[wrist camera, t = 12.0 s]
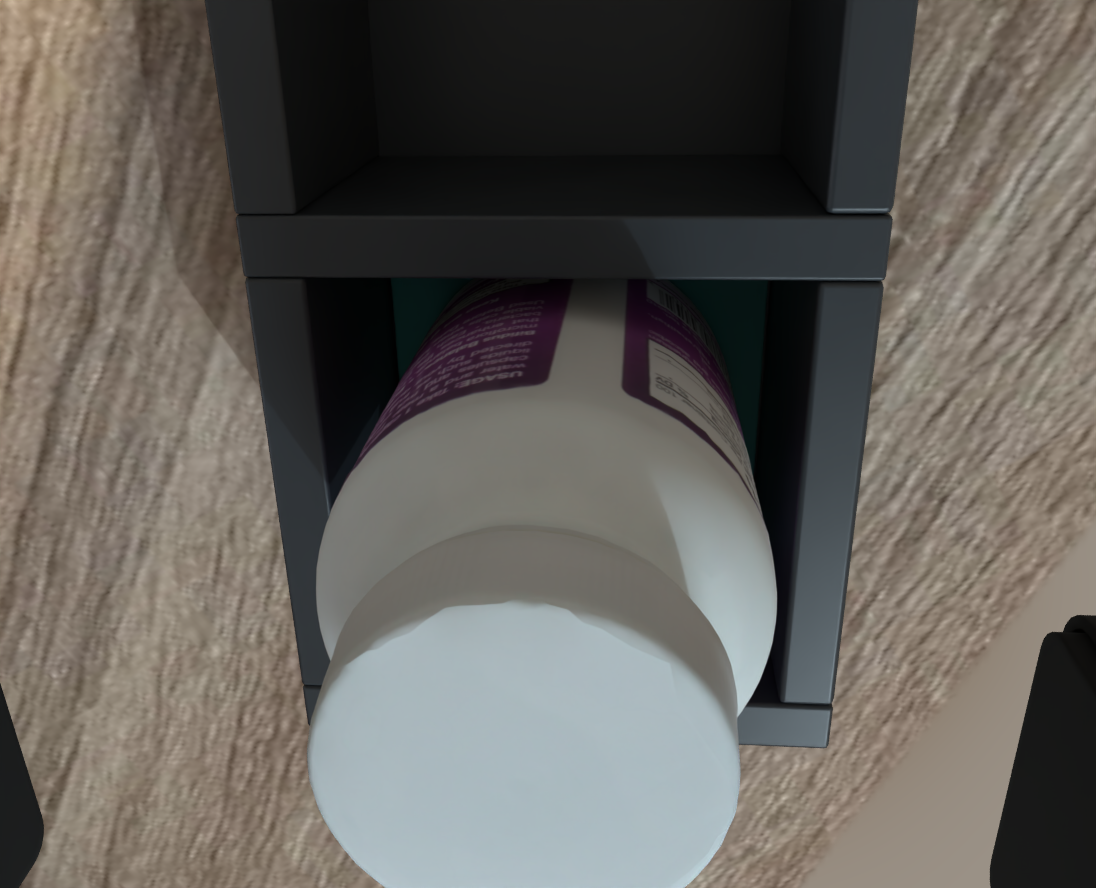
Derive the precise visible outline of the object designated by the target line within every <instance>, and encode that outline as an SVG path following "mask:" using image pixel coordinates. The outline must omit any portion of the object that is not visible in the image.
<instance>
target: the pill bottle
mask: <svg viewBox="0 0 1096 888" xmlns="http://www.w3.org/2000/svg"><path fill="white" fill-rule="evenodd" d="M316 600H317V613H318V619H319V624H320V630H321V634H322V637H323V641H324V644H325V648H326V650H327V653H328V656H329V658H330V661H331V662H330V664H329V667H328V670H327V672H326V675H325V678H324V681H323V684H322V687H321V690H320V693H319V696H318V699H317V702H316V705H315V709H314V712H313V715H312V718H311V723H310V730H309V737H308V746H307V763H308V773H309V780H310V784H311V786H312V789H313V793H314V796H315V799H316V802H317V805H318V808H319V810H320V812H321V814H322V816H323V818H324V820H325V822H326V824H327V825H328V827H329V829H330V831H331V832H332V834H333V835H334V836H335V838H336V839H337V841H338V842H339V843H340V845H341V846H342V847H343V848H344V850H345V851H346V852H347V853H348V855H349V856H350V857H351V858H352V859H353V860H354V862H355V863H356V864H357V865H358V866H360V867H361V868H362V869H363V870H364V871H365V872H366V873H367V874H369V875H370V876H371V877H372V878H374V879H375V880H376V881H377V882H379V883H380V884H381V885H383V886H384V887H385V888H684V887H685V886H687V885H688V884H689V883H690V882H691V881H692V880H693V879H694V878H695V877H696V876H697V875H698V874H699V873H700V872H701V871H702V869H703V868H704V867H705V866H706V865H707V864H708V863H709V862H710V860H711V859H712V857H713V856H714V854H715V853H716V851H717V850H718V849H719V848H720V846H721V844H722V842H723V840H724V837H725V835H726V833H727V831H728V828H729V826H730V824H731V822H732V820H733V817H734V815H735V813H736V807H737V801H738V794H739V785H740V756H739V741H738V729H737V717H738V716H739V715H740V713H741V712H742V710H743V709H744V707H745V706H746V704H747V703H748V701H749V700H750V698H751V696H752V695H753V693H754V691H755V689H756V687H757V685H758V683H759V681H760V679H761V676H762V674H763V671H764V668H765V666H766V663H767V660H768V656H769V653H770V649H771V646H772V642H773V636H774V630H775V624H776V615H777V589H776V578H775V569H774V562H773V555H772V548H771V545H770V540H769V534H768V531H767V528H766V525H765V522H764V519H763V515H762V511H761V507H760V503H759V499H758V495H757V491H756V487H755V483H754V479H753V475H752V470H751V465H750V460H749V456H748V452H747V448H746V446H745V441H744V437H743V433H742V428H741V424H740V420H739V416H738V412H737V409H736V403H735V399H734V394H733V391H732V386H731V383H730V378H729V374H728V370H727V367H726V363H725V360H724V357H723V354H722V352H721V349H720V347H719V345H718V342H717V340H716V338H715V336H714V334H713V332H712V330H711V328H710V327H709V325H708V323H707V321H706V320H705V318H704V317H703V316H702V314H701V313H700V311H699V310H698V309H697V308H696V306H695V305H694V304H693V302H692V301H691V300H690V299H689V298H688V297H687V296H686V295H684V294H683V293H682V292H681V291H680V290H679V289H678V288H677V287H676V286H675V285H674V284H672V283H671V282H670V281H669V280H651V279H483V278H474V279H472V280H471V281H470V282H469V283H467V284H466V285H465V286H464V287H463V288H462V289H461V290H460V291H459V292H458V293H457V294H456V295H455V296H454V297H453V298H452V299H451V300H450V302H449V303H448V304H447V306H446V307H445V308H444V309H443V311H442V312H441V314H440V315H439V317H438V318H437V319H436V321H435V322H434V324H433V325H432V327H431V328H430V330H429V332H428V333H427V335H426V336H425V338H424V340H423V342H422V344H421V346H420V347H419V349H418V351H417V353H416V355H415V356H414V358H413V360H412V361H411V363H410V365H409V367H408V368H407V370H406V371H405V373H404V374H403V376H402V378H401V380H400V382H399V384H398V386H397V387H396V389H395V391H394V393H393V395H392V397H391V399H390V401H389V402H388V404H387V406H386V407H385V409H384V411H383V413H382V415H381V416H380V418H379V420H378V422H377V424H376V426H375V427H374V429H373V431H372V432H371V434H370V436H369V438H368V440H367V442H366V444H365V446H364V448H363V449H362V451H361V453H360V456H359V458H358V460H357V461H356V463H355V465H354V467H353V469H352V470H351V471H350V472H349V473H348V475H347V477H346V479H345V481H344V483H343V485H342V487H341V489H340V491H339V493H338V496H337V498H336V500H335V502H334V504H333V507H332V509H331V513H330V516H329V518H328V521H327V523H326V526H325V530H324V534H323V538H322V542H321V546H320V550H319V556H318V563H317V574H316Z"/></svg>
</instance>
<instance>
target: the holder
mask: <svg viewBox="0 0 1096 888" xmlns="http://www.w3.org/2000/svg"><path fill="white" fill-rule="evenodd" d="M205 6H206V13H207V20H208V27H209V34H210V41H211V48H212V55H213V62H214V69H215V76H216V83H217V90H218V97H219V104H220V111H221V118H222V125H223V132H224V139H225V146H226V153H227V160H228V167H229V174H230V181H231V188H232V195H233V202H234V209H235V212H236V213H237V214H239V215H237V217H236V223H237V230H238V237H239V244H240V251H241V258H242V265H243V272H244V275H245V276H247V278H246V281H245V283H246V290H247V297H248V304H249V311H250V319H251V326H252V333H253V340H254V347H255V354H256V361H257V368H258V375H259V382H260V389H261V396H262V403H263V410H264V417H265V424H266V431H267V438H268V445H269V452H270V459H271V466H272V473H273V480H274V487H275V494H276V501H277V508H278V515H279V522H280V529H281V536H282V543H283V550H284V557H285V564H286V571H287V578H288V585H289V592H290V599H291V606H292V613H293V620H294V627H295V634H296V641H297V648H298V655H299V663H300V670H301V677H302V682H303V684H304V686H303V691H304V698H305V705H306V712H307V719H308V724H309V726H310V723H311V718H312V715H313V712H314V709H315V705H316V702H317V699H318V696H319V693H320V690H321V687H322V684H323V681H324V678H325V675H326V672H327V670H328V667H329V664H330V662H331V661H330V658H329V656H328V653H327V650H326V648H325V644H324V641H323V637H322V634H321V630H320V624H319V619H318V613H317V600H316V574H317V563H318V556H319V550H320V546H321V542H322V538H323V534H324V530H325V526H326V523H327V521H328V518H329V516H330V513H331V509H332V507H333V504H334V502H335V500H336V498H337V496H338V493H339V491H340V489H341V487H342V485H343V483H344V481H345V479H346V477H347V475H348V473H349V472H350V471H351V470H352V469H353V467H354V465H355V463H356V461H357V460H358V458H359V456H360V453H361V451H362V449H363V448H364V446H365V444H366V442H367V440H368V438H369V436H370V434H371V432H372V431H373V429H374V427H375V426H376V424H377V422H378V420H379V418H380V416H381V415H382V413H383V411H384V409H385V407H386V406H387V404H388V402H389V401H390V399H391V397H392V395H393V393H394V391H395V389H396V387H397V386H398V384H399V382H400V380H401V378H402V376H403V374H404V373H405V371H406V370H407V368H408V367H409V365H410V363H411V361H412V360H413V358H414V356H415V355H416V353H417V351H418V349H419V347H420V346H421V344H422V342H423V340H424V338H425V336H426V335H427V333H428V332H429V330H430V328H431V327H432V325H433V324H434V322H435V321H436V319H437V318H438V317H439V315H440V314H441V312H442V311H443V309H444V308H445V307H446V306H447V304H448V303H449V302H450V300H451V299H452V298H453V297H454V296H455V295H456V294H457V293H458V292H459V291H460V290H461V289H462V288H463V287H464V286H465V285H466V284H467V283H469V282H470V281H471V280H472V279H474V278H483V279H651V280H669V281H670V282H671V283H672V284H674V285H675V286H676V287H677V288H678V289H679V290H680V291H681V292H682V293H683V294H684V295H686V296H687V297H688V298H689V299H690V300H691V301H692V302H693V304H694V305H695V306H696V308H697V309H698V310H699V311H700V313H701V314H702V316H703V317H704V318H705V320H706V321H707V323H708V325H709V327H710V328H711V330H712V332H713V334H714V336H715V338H716V340H717V342H718V345H719V347H720V349H721V352H722V354H723V357H724V360H725V363H726V367H727V370H728V374H729V378H730V383H731V386H732V391H733V394H734V399H735V403H736V409H737V412H738V416H739V420H740V424H741V428H742V433H743V437H744V441H745V446H746V448H747V452H748V456H749V460H750V465H751V470H752V475H753V479H754V483H755V487H756V491H757V495H758V499H759V503H760V507H761V511H762V515H763V519H764V522H765V525H766V528H767V531H768V534H769V540H770V545H771V548H772V555H773V562H774V569H775V578H776V589H777V615H776V624H775V630H774V636H773V642H772V646H771V649H770V653H769V656H768V660H767V663H766V666H765V668H764V671H763V674H762V676H761V679H760V681H759V683H758V685H757V687H756V689H755V691H754V693H753V695H752V696H751V698H750V700H749V701H748V703H747V704H746V706H745V707H744V709H743V710H742V712H741V713H740V715H739V716H738V717H737V729H738V741H739V745H761V746H784V747H808V748H826V747H827V746H828V743H829V735H830V727H831V719H832V711H833V707H832V701H833V699H834V691H835V683H836V675H837V667H838V658H839V650H840V642H841V634H842V626H843V617H844V609H845V601H846V593H847V584H848V576H849V568H850V560H851V552H852V543H853V535H854V527H855V519H856V511H857V502H858V494H859V486H860V478H861V469H862V461H863V453H864V445H865V437H866V428H867V420H868V412H869V404H870V395H871V387H872V379H873V371H874V363H875V354H876V346H877V338H878V330H879V321H880V313H881V305H882V297H883V289H884V287H883V284H882V282H881V280H884V279H885V277H886V270H887V261H888V253H889V245H890V237H891V229H892V220H893V219H892V216H891V215H890V214H889V213H888V212H890V211H891V209H892V207H893V205H894V197H895V188H896V180H897V172H898V164H899V156H900V147H901V139H902V131H903V123H904V114H905V106H906V98H907V90H908V82H909V73H910V65H911V57H912V49H913V40H914V32H915V24H916V16H917V8H918V0H205Z"/></svg>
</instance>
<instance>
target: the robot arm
mask: <svg viewBox="0 0 1096 888" xmlns="http://www.w3.org/2000/svg"><path fill="white" fill-rule="evenodd" d="M43 835H44V824H43V819H42V815H41V812H40V808H39V805H38V802H37V799H36V796H35V793H34V789H33V786H32V783H31V780H30V777H29V773H28V770H27V767H26V764H25V761H24V757H23V754H22V751H21V748H20V745H19V742H18V738H17V735H16V732H15V729H14V726H13V722H12V719H11V716H10V713H9V710H8V706H7V703H6V700H5V697H4V694H3V690H2V687H1V684H0V888H19V886H20V885H21V883H22V882H23V880H24V879H25V877H26V875H27V874H28V872H29V871H30V869H31V868H32V866H33V865H34V863H35V861H36V859H37V857H38V855H39V852H40V849H41V846H42V841H43ZM990 886H991V888H1096V616H1091V615H1089V616H1088V615H1087V616H1086V615H1077V616H1074V617H1072V618H1071V619H1070V620H1069V621H1068V622H1067V624H1066V625H1065V628H1064V631H1063V632H1051V633H1049V634H1047V635H1046V637H1045V638H1044V640H1043V643H1042V646H1041V649H1040V653H1039V657H1038V662H1037V666H1036V670H1035V674H1034V679H1033V683H1032V687H1031V692H1030V696H1029V700H1028V705H1027V709H1026V713H1025V717H1024V722H1023V726H1022V730H1021V734H1020V739H1019V743H1018V748H1017V752H1016V756H1015V760H1014V764H1013V769H1012V773H1011V778H1010V782H1009V786H1008V790H1007V795H1006V799H1005V804H1004V808H1003V812H1002V816H1001V820H1000V825H999V829H998V833H997V837H996V842H995V846H994V850H993V854H992V859H991V865H990Z"/></svg>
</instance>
